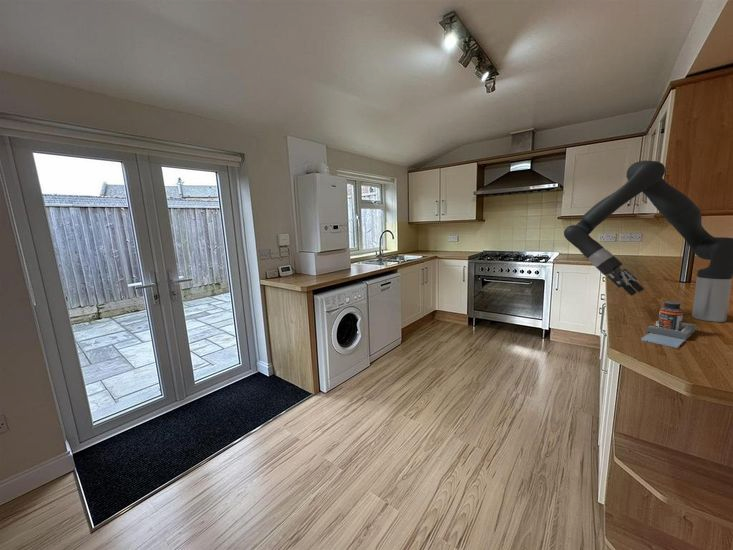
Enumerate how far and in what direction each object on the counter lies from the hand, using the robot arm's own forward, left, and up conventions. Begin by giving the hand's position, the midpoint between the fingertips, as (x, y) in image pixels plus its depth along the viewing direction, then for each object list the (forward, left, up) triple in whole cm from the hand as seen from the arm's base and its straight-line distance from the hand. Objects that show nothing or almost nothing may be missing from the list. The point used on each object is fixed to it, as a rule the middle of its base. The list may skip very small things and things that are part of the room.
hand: (638, 292), depth 115 cm
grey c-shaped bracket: (-3, +10, -13) cm, 17 cm away
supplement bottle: (0, +10, -14) cm, 17 cm away
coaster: (+13, +11, -13) cm, 21 cm away
